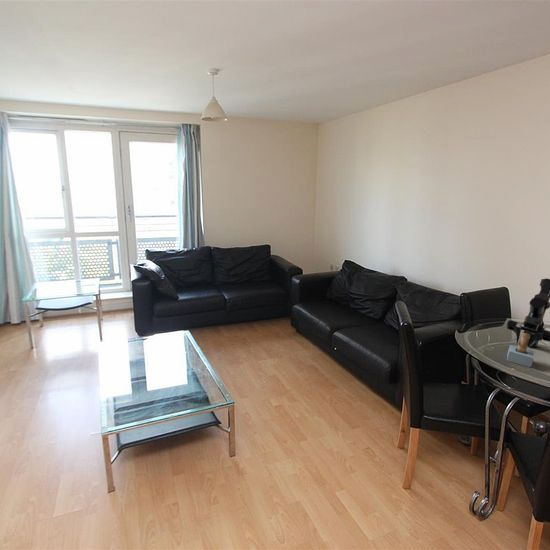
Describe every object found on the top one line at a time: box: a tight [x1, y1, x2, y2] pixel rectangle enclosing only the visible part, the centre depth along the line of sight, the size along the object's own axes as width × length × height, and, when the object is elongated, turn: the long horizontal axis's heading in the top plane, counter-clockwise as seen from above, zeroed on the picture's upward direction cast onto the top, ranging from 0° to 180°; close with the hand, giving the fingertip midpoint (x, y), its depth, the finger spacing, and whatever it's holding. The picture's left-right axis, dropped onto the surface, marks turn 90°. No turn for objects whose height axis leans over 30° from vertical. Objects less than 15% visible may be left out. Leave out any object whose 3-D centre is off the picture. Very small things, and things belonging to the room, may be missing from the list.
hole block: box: [506, 344, 535, 368], centre depth 185 cm, size 10×10×5 cm
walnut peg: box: [517, 331, 531, 354], centre depth 184 cm, size 4×4×13 cm
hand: (522, 344), depth 182 cm, fingers open, 5 cm apart
